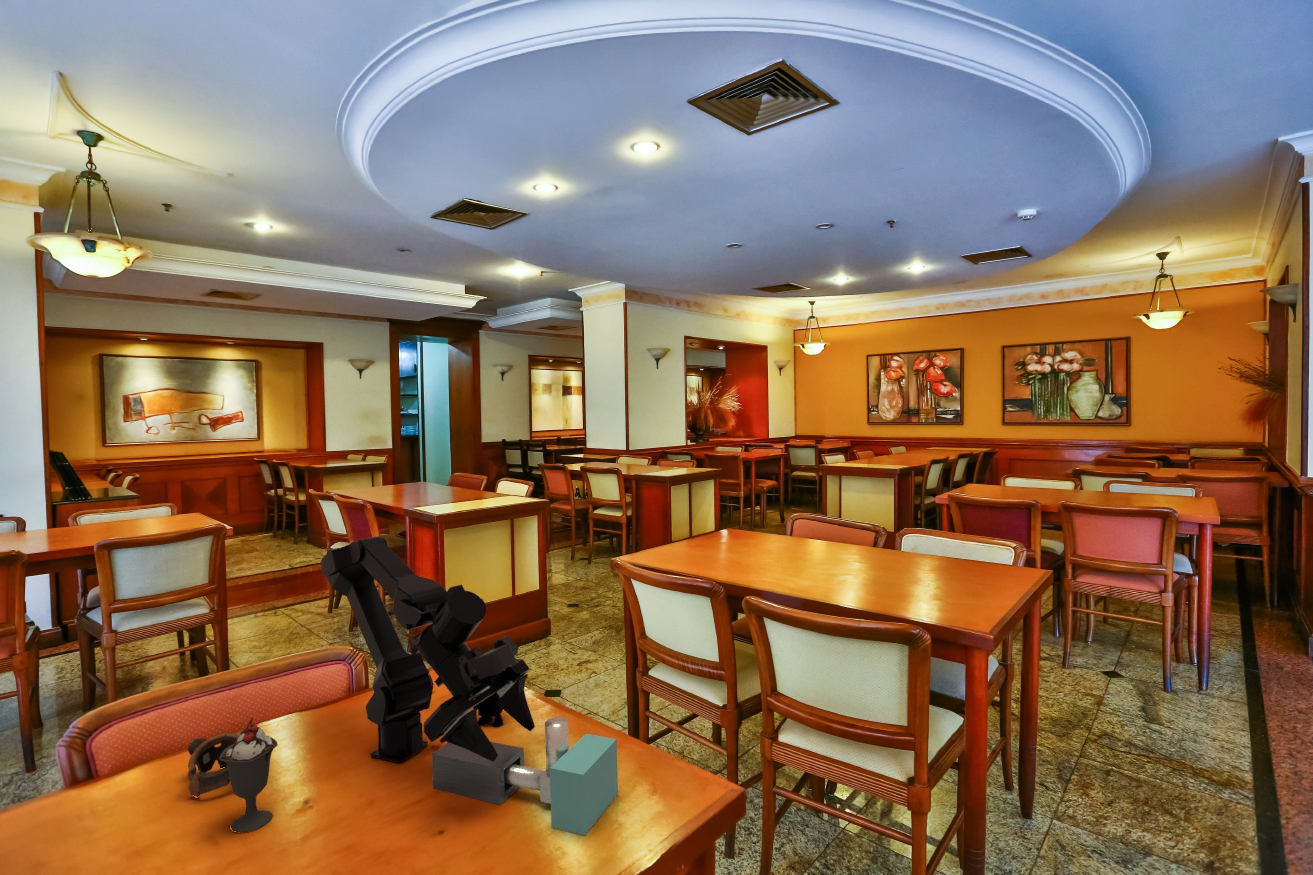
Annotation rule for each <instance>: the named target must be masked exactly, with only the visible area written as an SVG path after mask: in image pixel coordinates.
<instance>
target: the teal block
mask: <svg viewBox="0 0 1313 875" xmlns="http://www.w3.org/2000/svg"><path fill="white" fill-rule="evenodd" d="M617 744H618V739H617V738H612V737H607V736H602V735H601V736H600V735H597V734H595V735H594V734H589V733H585V734H584V735H583V736H581V738H580V739H579V740H577V741H576V742H575V744H574V745H572V746H571V747H570V748H569V750H568V751H567V752H566V753H565V754H564V755H563V756H562V757H561V758H560V759H559V760H558V761H557V762H556V763H554V764H553V765H552V766H551V767H550V793H551V804H550V821H551V822H550V823H551V824H550V825H551V826H550V827H551V828H552V829H555V830H559V831H564V832H568V833H572V834H575V835H579V836H583V837H585V836H587V834H588V833H589V831H590V830H591V828H593V826H594V825H596V822H597V821H598V820H599V819H600V817H601V816H602V815H603V814H604V813H605V811H606V810H607V808H608V807H609V806H610V805H611V804H612V802H613V801H615V799H616V797H617V796H618V795H619V783H618V782H619V776H618V775H619V774H618V745H617Z"/></svg>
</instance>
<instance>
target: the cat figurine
mask: <svg viewBox="0 0 1313 875" xmlns="http://www.w3.org/2000/svg"><path fill="white" fill-rule="evenodd" d="M484 693H485V692H484ZM499 699H500V697H499V698H496V697H493V696H490V697H488V698H487V699H485V700H484V701H482V702H481V703H479V704H478V705H476V706H475V707H473V708H472V709H474V708H476V712H477V716H480V717H479V718H478V719H477V722H478V724H479V726H480V727H481V726H486V725H488V724H489V723H491V722H492V724H491V727H493V728H500V727H502V726H503V725H504V720H503V716H502V715H501V713H503V711H504V710H503V709H502V708H501V707H500V706H499V705H498V704H497V703H496V702H497V701H498V700H499ZM493 717H494V718H493Z"/></svg>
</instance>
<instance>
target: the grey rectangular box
mask: <svg viewBox="0 0 1313 875" xmlns="http://www.w3.org/2000/svg"><path fill="white" fill-rule="evenodd" d="M490 742H491V744H492V745H493V747H494V749H495V750H496V752H497V754H498V758H497V759H496V760H495V761H493V762H492V761H490V760H488V759H486V758H484V757H482V756H480V755H478V754H475V753H473V752H471V751H469V750H467V749H465V748H462V747H459V746H457V745H454V744H451V743H448V742H446V744H444V745H442V746H441V747H440V748H438V749H437V750H435V751H434V752H433V753H431V762H432V763H431V764H432V768H431V769H432V789H433V790H436V791H441V792H444V793H449V794H454V795H458V796H462V797H466V798H470V799H475V800H478V801H483V802H486V803H492V804H495V805H500V806H501V805H502V804H503V803H505V801H506V800H508V799H509V798H510V797H511V796H512V795H513V794H515V792H516V791H517V790H518V789H520V788H521V787H519V786H515V785H510V784H506V783H504V770H505V769H506V768H507V767H509V766H510V765H511V764H515V765H520V766H525V748H524V747H519V746H514V745H510V744H505V743H499V742H494V741H490Z"/></svg>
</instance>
